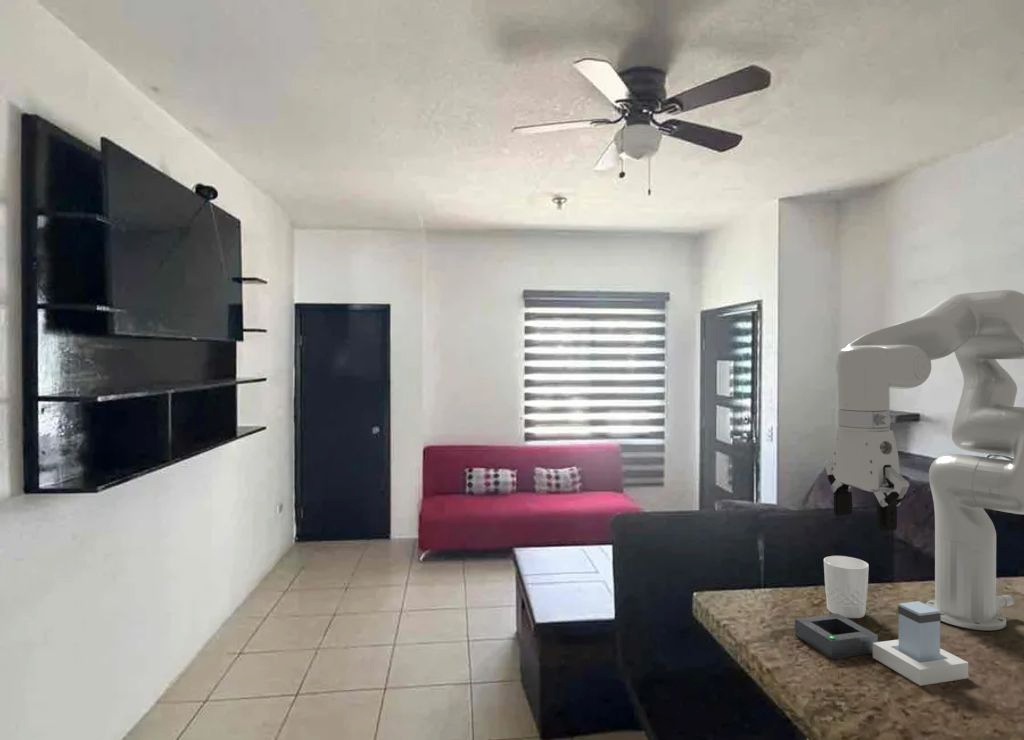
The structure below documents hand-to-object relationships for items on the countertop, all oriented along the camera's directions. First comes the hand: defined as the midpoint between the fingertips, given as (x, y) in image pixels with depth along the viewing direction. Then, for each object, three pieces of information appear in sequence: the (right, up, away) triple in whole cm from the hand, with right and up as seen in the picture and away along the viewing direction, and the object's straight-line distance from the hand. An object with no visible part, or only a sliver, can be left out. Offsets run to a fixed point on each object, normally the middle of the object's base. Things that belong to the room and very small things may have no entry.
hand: (863, 521), depth 102 cm
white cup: (+8, -23, +20) cm, 31 cm away
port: (-2, -23, +6) cm, 24 cm away
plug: (+8, -23, -2) cm, 25 cm away
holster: (+8, -23, -2) cm, 25 cm away
